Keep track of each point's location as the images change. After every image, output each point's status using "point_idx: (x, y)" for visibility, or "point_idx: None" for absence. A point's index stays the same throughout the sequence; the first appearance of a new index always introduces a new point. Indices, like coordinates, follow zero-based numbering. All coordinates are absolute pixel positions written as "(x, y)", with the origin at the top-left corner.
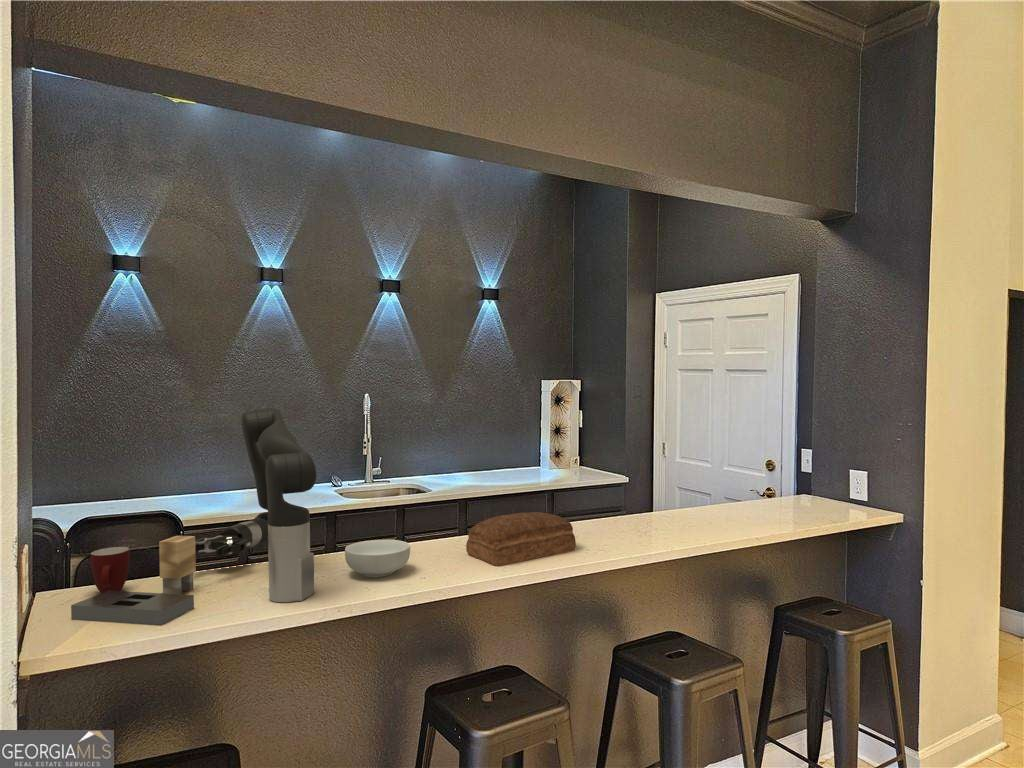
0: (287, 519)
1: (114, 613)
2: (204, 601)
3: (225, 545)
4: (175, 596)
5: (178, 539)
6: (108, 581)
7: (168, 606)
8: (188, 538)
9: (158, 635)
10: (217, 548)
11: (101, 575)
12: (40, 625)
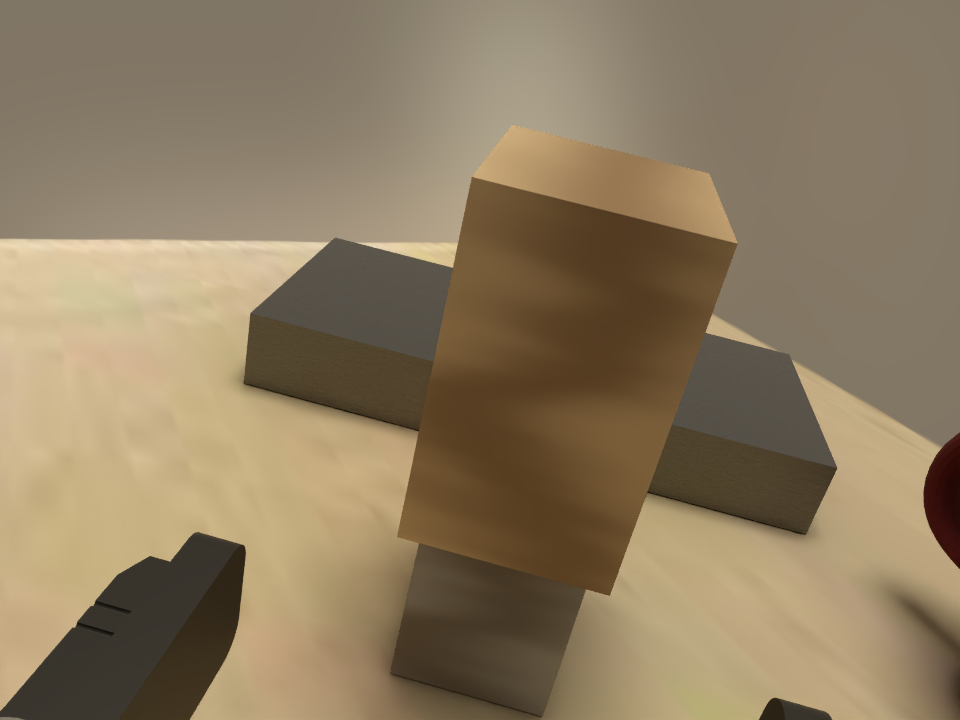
0: None
1: None
2: (210, 454)
3: (100, 689)
4: (351, 322)
5: (578, 162)
6: (929, 488)
7: (325, 255)
8: (494, 154)
9: (298, 250)
10: (229, 541)
11: None
12: (820, 391)
